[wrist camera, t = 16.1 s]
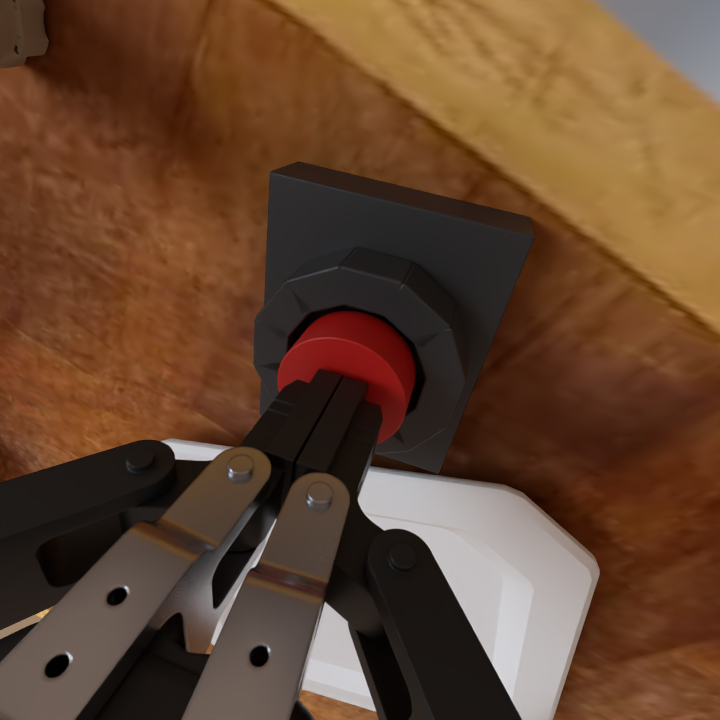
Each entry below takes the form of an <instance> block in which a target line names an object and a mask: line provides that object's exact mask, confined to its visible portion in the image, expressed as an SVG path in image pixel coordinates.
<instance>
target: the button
mask: <svg viewBox="0 0 720 720" xmlns="http://www.w3.org/2000/svg"><path fill="white" fill-rule="evenodd" d="M320 368H321V369H324V370H327V371H331V372H334V373H337V374H340V375H343V376H347V377H350V378H354V379H357V380H360V381H363V382H366V383H369V387H368V392H367V396H366V400H365V401H368V402H371V403H374V404H378V405H380V406H381V411H382V416H383V421H382V425H381V429H380V433H379V437H378V440H377V444H379V443H381V442H383V441H385V440H387V439H388V438H390V437H391V436H392V435H393V434H394V433H395V432H396V431H397V430H398V429H399V427H400V426H401V424H402V422H403V420H404V417H405V414H406V411H407V408H408V404H409V401H410V398H411V394H412V391H413V388H414V384H415V380H416V365H415V361H414V357H413V354H412V352H411V350H410V348H409V346H408V344H407V343H406V341H405V340H404V339H403V337H402V336H401V335H400V334H399V333H398V332H397V331H396V330H395V329H394V328H392V327H391V326H390V325H389V324H387V323H386V322H384V321H382V320H380V319H378V318H376V317H374V316H371V315H369V314H366V313H361V312H355V311H339V312H333V313H330V314H327V315H324V316H322V317H320V318H318V319H317V320H316V321H314V322H313V323H312V324H311V325H310V326H309V327H308V328H307V329H306V330H305V332H304V333H303V334H302V335H301V337H300V338H299V339H298V340H297V341H296V343H295V344H294V345H293V346H292V347H291V349H290V350H289V351H288V352H287V354H286V355H285V356H284V358H283V360H282V362H281V364H280V367H279V370H278V390H279V392H280V391H281V390H282V388H283V387H285V386H286V385H288V384H290V383H292V382H294V381H295V380H297V379H298V380H301V381H305V382H308V383H309V382H310V381H311V379H312V378H313V376H314V375H315V373H316V372H317V371H318V369H320Z"/></svg>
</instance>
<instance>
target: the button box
mask: <svg viewBox="0 0 720 720" xmlns="http://www.w3.org/2000/svg"><path fill="white" fill-rule="evenodd" d="M534 239H535V237H534V232H533V227H532V222H531V218H530V217H526V216H522V215H518V214H514V213H510V212H506V211H501V210H497V209H493V208H489V207H485V206H481V205H477V204H472V203H468V202H464V201H460V200H456V199H452V198H448V197H443V196H439V195H435V194H431V193H427V192H423V191H419V190H414V189H410V188H406V187H402V186H398V185H394V184H389V183H385V182H381V181H377V180H373V179H369V178H365V177H360V176H356V175H352V174H348V173H344V172H340V171H336V170H331V169H327V168H323V167H319V166H315V165H311V164H307V163H302V162H296V163H293V164H290V165H287V166H284V167H282V168H279V169H276V170H273V171H271V172H270V182H269V206H268V230H267V254H266V277H265V301H264V307H263V308H262V310H261V311H260V312H259V314H258V315H257V317H256V318H255V330H254V366H255V368H256V370H257V372H258V374H259V376H260V378H261V396H260V415H263V414H264V413H265V411H267V410H268V407H269V406H270V405H271V403H272V402H273V401H274V400H275V398H276V396H277V395H278V394H279V390H278V370H279V367H280V364H281V362H282V360H283V358H284V356H285V355H286V354H287V352H288V351H289V350H290V349H291V347H292V346H293V345H294V344H295V343H296V341H297V340H298V339H299V338H300V337H301V335H302V334H303V333H304V332H305V330H306V329H307V328H308V327H309V326H310V325H311V324H312V323H313V322H314V321H316V320H317V319H318V318H320V317H322V316H324V315H327V314H330V313H333V312H339V311H355V312H361V313H366V314H369V315H371V316H374V317H376V318H378V319H380V320H382V321H384V322H386V323H387V324H389V325H390V326H391V327H392V328H394V329H395V330H396V331H397V332H398V333H399V334H400V335H401V336H402V337H403V339H404V340H405V341H406V343H407V344H408V346H409V348H410V350H411V352H412V354H413V357H414V361H415V365H416V380H415V384H414V388H413V391H412V394H411V398H410V401H409V404H408V408H407V411H406V414H405V417H404V420H403V422H402V424H401V426H400V427H399V429H398V430H397V431H396V432H395V433H394V434H393V435H392V436H391V437H390V438H388V439H387V440H385V441H383V442H381V443H379V444H376V448H375V452H374V454H380V455H383V456H386V457H389V458H392V459H395V460H398V461H401V462H404V463H407V464H410V465H413V466H416V467H419V468H422V469H425V470H428V471H431V472H434V473H437V474H438V473H439V472H440V470H441V468H442V465H443V463H444V460H445V458H446V455H447V453H448V450H449V448H450V445H451V443H452V440H453V438H454V436H455V433H456V431H457V428H458V426H459V423H460V421H461V418H462V416H463V413H464V411H465V408H466V406H467V404H468V401H469V399H470V396H471V394H472V391H473V389H474V386H475V384H476V381H477V379H478V376H479V374H480V372H481V369H482V367H483V364H484V362H485V359H486V357H487V354H488V352H489V349H490V347H491V344H492V342H493V340H494V337H495V335H496V332H497V330H498V327H499V325H500V322H501V320H502V317H503V315H504V312H505V310H506V308H507V305H508V303H509V300H510V298H511V295H512V293H513V290H514V288H515V285H516V283H517V280H518V278H519V276H520V273H521V271H522V268H523V266H524V263H525V261H526V258H527V256H528V253H529V251H530V248H531V246H532V244H533V241H534Z"/></svg>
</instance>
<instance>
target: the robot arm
mask: <svg viewBox="0 0 720 720" xmlns="http://www.w3.org/2000/svg"><path fill="white" fill-rule="evenodd" d="M368 387H369V383H366V382H363V381H360V380H357V379H354V378H350V377H347V376H343V375H340V374H337V373H334V372H331V371H327V370H324V369H321V368H320V369H318V371H317V372H316V373H315V375H314V376H313V378H312V379H311V381H310V382H309V383H308V382H305V381H301V380H298V379H297V380H295V381H294V382H292V383H290V384H288V385H286V386H285V387H283V388H282V390H281V391H280V392H279V394H278V395H277V396H276V398H275V400H274V401H273V402H272V403H271V405H270V406H269V407H268V410H267V411H265V413H264V414H263V415H262V417H261V418H260V419H259V421H258V422H257V423H256V425H255V426H254V427H253V429H252V430H251V431H250V433H249V434H248V435H247V437H246V438H245V439H244V441H243V442H242V443H241V445H240V446H239V447H234V448H230V449H227V450H225V451H223V452H221V453H220V454H218V455H217V456H216V457H215V458H214V459H213V460H209V461H195V460H178V459H175V454H174V452H173V450H172V448H171V447H170V446H168V445H167V444H165V443H163V442H161V441H156V440H141V441H136V442H132V443H129V444H126V445H122V446H119V447H116V448H112V449H109V450H106V451H103V452H99V453H96V454H93V455H89V456H86V457H83V458H79V459H76V460H73V461H70V462H66V463H63V464H60V465H56V466H53V467H50V468H47V469H43V470H40V471H37V472H33V473H30V474H27V475H23V476H20V477H17V478H14V479H10V480H7V481H4V482H0V630H2V629H4V628H6V627H8V626H10V625H12V624H15V623H17V622H19V621H21V620H24V619H26V618H28V617H30V616H32V615H35V614H37V613H39V612H41V611H43V610H46V609H48V608H50V607H52V606H54V605H55V606H54V607H53V608H52V609H51V610H50V611H49V612H48V613H47V614H46V615H45V616H44V617H43V618H42V620H40V621H39V622H37V623H34V624H32V625H29V626H27V627H25V628H23V629H21V630H19V631H17V632H15V633H13V634H10V635H9V636H6V637H4V638H2V639H0V720H315V719H314V718H313V716H312V715H311V713H310V712H309V711H308V710H307V708H306V707H305V706H304V705H303V704H302V702H301V701H299V698H300V694H301V690H302V687H303V683H304V679H305V675H306V671H307V668H308V664H309V660H310V656H311V652H312V648H313V645H314V641H315V637H316V633H317V630H318V626H319V622H320V619H321V615H322V611H323V608H324V604H325V602H326V603H327V604H328V605H329V606H330V607H331V608H333V609H334V610H335V611H336V612H337V613H338V614H339V615H341V616H342V617H343V618H344V619H345V620H346V621H347V622H348V628H349V632H350V635H351V638H352V641H353V644H354V647H355V650H356V653H357V656H358V659H359V662H360V665H361V668H362V671H363V674H364V676H365V679H366V682H367V685H368V688H369V691H370V694H371V697H372V700H373V703H374V706H375V709H376V712H377V715H378V718H379V720H522V719H521V717H520V715H519V713H518V711H517V709H516V707H515V706H514V704H513V702H512V700H511V698H510V696H509V694H508V693H507V691H506V689H505V687H504V685H503V683H502V682H501V680H500V678H499V676H498V674H497V672H496V670H495V669H494V667H493V665H492V663H491V661H490V659H489V657H488V656H487V654H486V652H485V650H484V648H483V646H482V644H481V643H480V641H479V639H478V637H477V635H476V633H475V632H474V630H473V628H472V626H471V624H470V622H469V620H468V619H467V617H466V615H465V613H464V611H463V609H462V607H461V606H460V604H459V602H458V600H457V598H456V596H455V595H454V593H453V591H452V589H451V587H450V585H449V583H448V582H447V580H446V578H445V576H444V574H443V572H442V570H441V569H440V567H439V565H438V563H437V561H436V559H435V558H434V556H433V554H432V552H431V550H430V549H429V547H428V545H427V544H426V543H425V542H424V541H423V540H422V539H421V538H420V537H419V536H417V535H416V534H414V533H412V532H410V531H407V530H404V529H388V530H385V531H384V530H383V529H381V528H380V527H379V526H377V525H376V524H375V523H373V522H372V521H371V520H370V519H369V518H368V517H367V516H366V515H365V514H364V513H363V511H362V510H361V508H360V505H359V503H358V497H359V495H360V492H361V489H362V486H363V483H364V481H365V478H366V475H367V472H368V469H369V467H370V464H371V461H372V458H373V455H374V452H375V448H376V444H377V440H378V437H379V433H380V429H381V425H382V421H383V416H382V411H381V406H380V405H378V404H374V403H371V402H368V401H365V400H366V396H367V392H368ZM276 519H277V520H276ZM275 520H276V522H275V525H274V527H273V529H272V531H271V534H270V536H269V538H268V541H267V543H266V537H267V535H268V533H269V531H270V529H271V527H272V525H273V523H274V521H275ZM265 543H266V545H265ZM264 545H265V548H264V550H263V552H262V555H261V557H260V559H259V561H258V563H257V565H256V566H255V567H254V568H253V567H252V565H253V564H254V562H255V560H256V559H257V557H258V556H259V554H260V552H261V551H262V549H263V547H264ZM251 567H252V568H251ZM250 568H251V569H250ZM245 576H246V577H245ZM244 578H245V579H244ZM242 581H243V583H242ZM241 583H242V585H241V587H240V589H239V591H238V594H237V596H236V598H235V600H234V603H233V605H232V607H231V609H230V612H229V614H228V616H227V618H226V621H225V623H224V625H223V627H222V630H221V632H220V634H219V636H218V639H217V641H216V643H215V645H214V647H213V650H212V652H211V654H205V653H206V651H207V649H208V647H209V645H210V643H211V640H212V638H213V635H214V632H215V629H216V626H217V623H218V621H219V619H220V617H221V615H222V613H223V612H224V610H225V608H226V607H227V605H228V604H229V602H230V600H231V599H232V597H233V596H234V594H235V592H236V591H237V589H238V588H239V586H240V584H241Z"/></svg>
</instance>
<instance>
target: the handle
mask: <svg viewBox="0 0 720 720" xmlns="http://www.w3.org/2000/svg"><path fill="white" fill-rule="evenodd" d="M44 10H45V5H44V2H43V0H0V68H11V67H16V66H21V65H23V64H24V63H25V62H26V58H27V57H28V56H40V55H44V54H45V52H46V50H47V47H48V43H49V40H48V38H47V36H46V33H45V28H44V18H43V16H44Z"/></svg>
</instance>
